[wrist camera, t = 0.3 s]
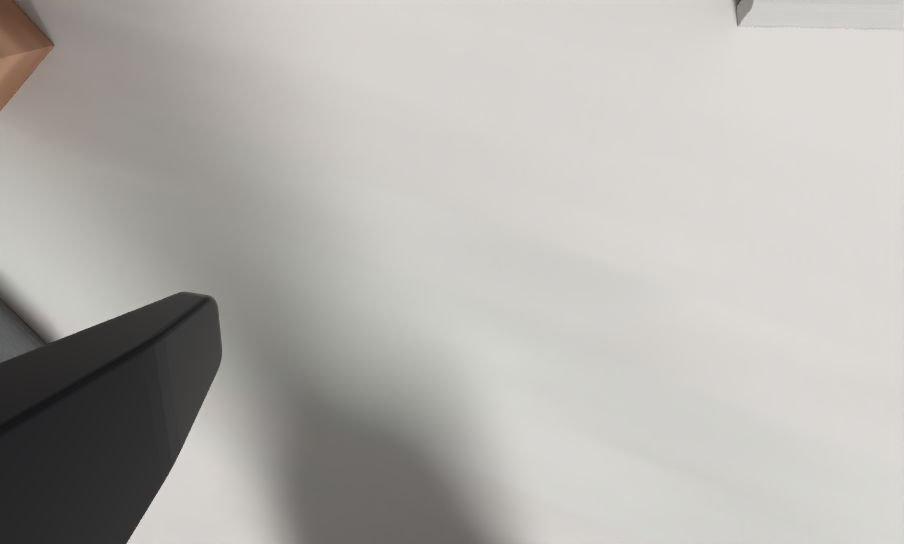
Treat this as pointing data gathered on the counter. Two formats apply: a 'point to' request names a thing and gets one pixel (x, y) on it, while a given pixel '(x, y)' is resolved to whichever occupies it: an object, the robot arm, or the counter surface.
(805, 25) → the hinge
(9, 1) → the square peg
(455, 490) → the counter surface
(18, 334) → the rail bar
